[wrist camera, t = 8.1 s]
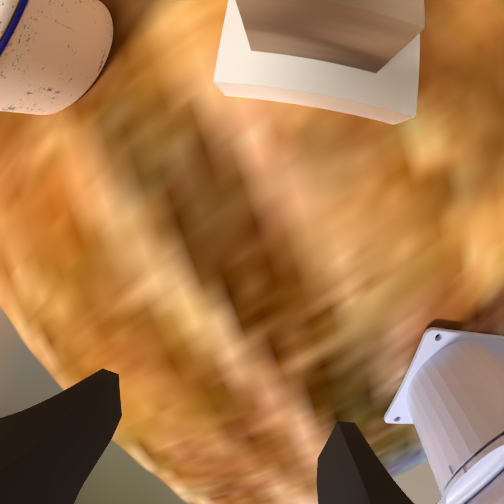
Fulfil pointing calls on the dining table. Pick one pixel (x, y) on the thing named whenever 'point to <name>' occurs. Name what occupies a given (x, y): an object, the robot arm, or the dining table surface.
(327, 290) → the dining table surface
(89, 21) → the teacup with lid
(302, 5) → the walnut cube
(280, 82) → the cream block
